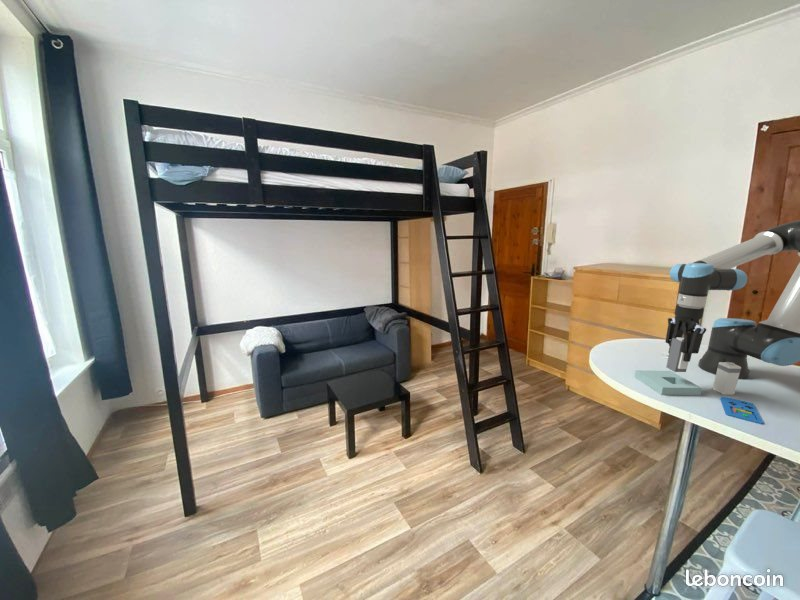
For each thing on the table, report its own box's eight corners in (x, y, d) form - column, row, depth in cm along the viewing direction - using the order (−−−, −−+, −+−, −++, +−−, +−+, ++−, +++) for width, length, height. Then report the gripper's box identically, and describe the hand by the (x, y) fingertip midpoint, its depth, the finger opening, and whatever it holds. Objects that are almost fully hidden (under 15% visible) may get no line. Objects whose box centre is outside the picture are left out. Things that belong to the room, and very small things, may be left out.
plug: (676, 367, 118) (683, 336, 115) (685, 372, 114) (693, 340, 112) (666, 367, 118) (672, 336, 116) (674, 371, 114) (681, 340, 112)
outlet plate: (668, 377, 126) (670, 370, 125) (700, 395, 113) (702, 387, 112) (634, 377, 127) (635, 370, 126) (661, 394, 113) (662, 387, 112)
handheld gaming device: (753, 402, 107) (764, 423, 95) (752, 405, 107) (763, 426, 96) (719, 394, 112) (726, 413, 100) (718, 397, 112) (725, 416, 101)
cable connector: (723, 388, 117) (730, 360, 114) (734, 394, 113) (741, 365, 110) (712, 388, 117) (719, 360, 115) (722, 394, 113) (730, 365, 111)
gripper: (660, 300, 119) (649, 356, 124) (701, 312, 103) (686, 376, 108) (680, 300, 119) (668, 356, 124) (724, 312, 102) (708, 376, 108)
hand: (676, 365), depth 116 cm, fingers closed on plug, 4 cm apart
